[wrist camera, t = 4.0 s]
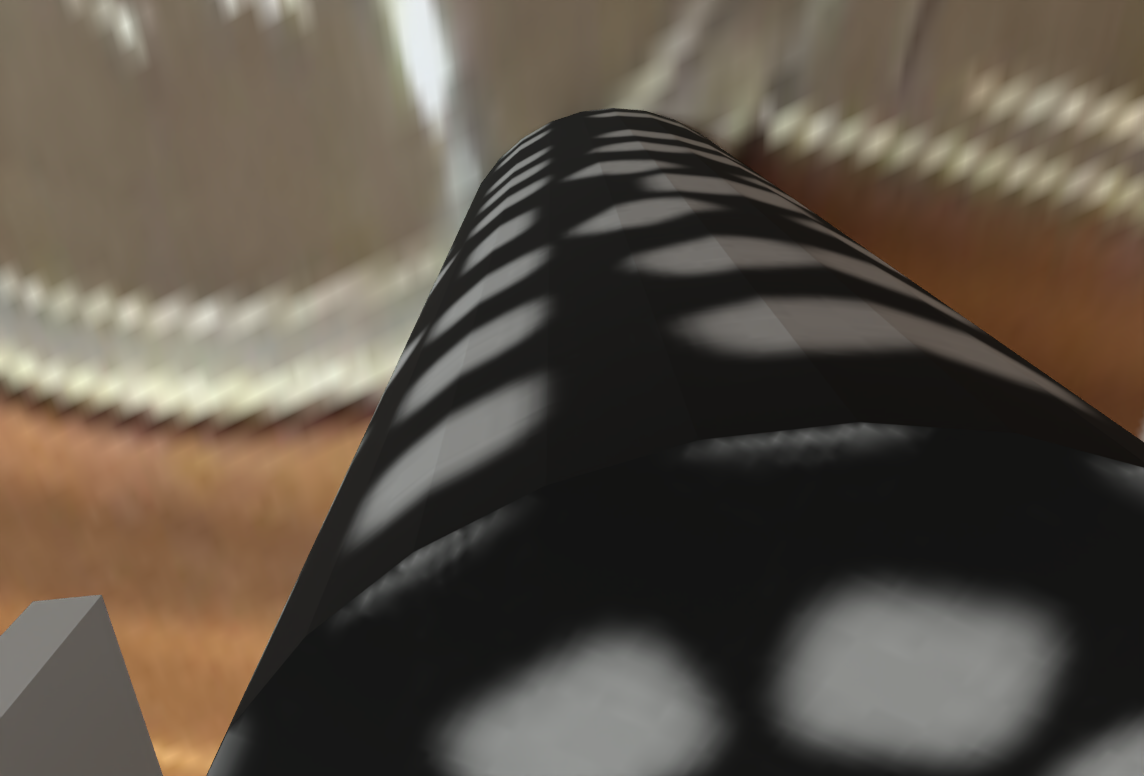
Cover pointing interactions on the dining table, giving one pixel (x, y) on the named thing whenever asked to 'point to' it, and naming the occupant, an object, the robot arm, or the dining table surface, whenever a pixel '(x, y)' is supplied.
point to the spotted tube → (705, 510)
